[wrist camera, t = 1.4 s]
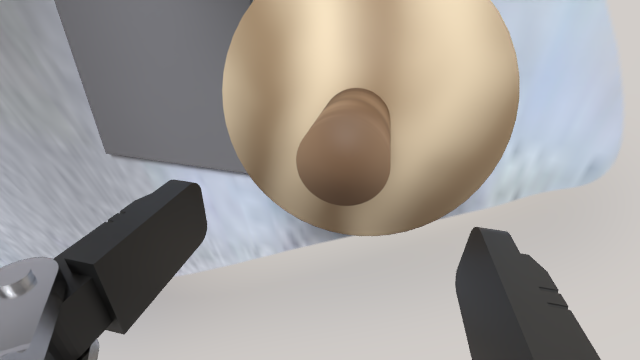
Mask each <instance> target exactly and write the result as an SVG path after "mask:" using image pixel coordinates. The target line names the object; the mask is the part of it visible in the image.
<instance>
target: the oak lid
mask: <svg viewBox="0 0 640 360" xmlns="http://www.w3.org/2000/svg"><path fill="white" fill-rule="evenodd" d="M222 96H223V110H224V116H225V121H226V126H227V129H228V133H229V136H230V139H231V142H232V145H233V147H234V149H235V152H236V154H237V156H238V158H239V160H240V161H241V163H242V165H243V167H244V168H245V170H246V171H247V173H248V174H249V176H250V177H251V178H252V180H253V181H254V182H255V183H256V185H257V186H258V187H259V188H260V189H261V190H262V191H263V192H264V193H265V194H266V195H267V196H268V197H269V198H270V199H271V200H272V201H273V202H275V203H276V204H277V205H278V206H280V207H281V208H283V209H284V210H285V211H287V212H288V213H290V214H292V215H293V216H295V217H297V218H298V219H300V220H302V221H304V222H307V223H309V224H311V225H313V226H316V227H319V228H322V229H325V230H328V231H332V232H337V233H341V234H347V235H356V236H380V235H390V234H396V233H401V232H405V231H409V230H412V229H415V228H419V227H422V226H424V225H426V224H429V223H431V222H433V221H435V220H438V219H439V218H441V217H443V216H444V215H446V214H448V213H450V212H451V211H453V210H454V209H455V208H457V207H458V206H459V205H461V204H462V203H463V202H465V201H466V200H467V199H468V198H469V197H470V196H471V195H472V194H474V193H475V192H476V191H477V190H478V189H479V188H480V187H481V185H482V184H483V183H484V182H485V181H486V179H487V178H488V177H489V176H490V174H491V173H492V172H493V170H494V168H495V167H496V165H497V164H498V162H499V160H500V159H501V157H502V155H503V153H504V151H505V149H506V147H507V144H508V142H509V140H510V137H511V134H512V131H513V127H514V124H515V121H516V116H517V109H518V103H519V71H518V64H517V58H516V53H515V49H514V46H513V43H512V40H511V37H510V34H509V31H508V29H507V27H506V25H505V23H504V21H503V19H502V17H501V15H500V13H499V11H498V10H497V9H496V7H495V6H494V4H493V3H492V2H491V0H254V1H253V2H252V4H251V5H250V6H249V8H248V9H247V11H246V12H245V14H244V15H243V17H242V19H241V21H240V23H239V25H238V27H237V29H236V31H235V33H234V35H233V38H232V41H231V44H230V47H229V50H228V53H227V57H226V62H225V67H224V72H223V86H222Z"/></svg>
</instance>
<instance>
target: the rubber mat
mask: <svg viewBox="0 0 640 360" xmlns="http://www.w3.org/2000/svg"><path fill="white" fill-rule="evenodd" d="M54 1H55V4H56V7H57V10H58V13H59V16H60V19H61V22H62V25H63V28H64V31H65V33H66V36H67V39H68V42H69V45H70V48H71V51H72V54H73V57H74V60H75V63H76V66H77V69H78V72H79V75H80V78H81V81H82V84H83V87H84V90H85V93H86V96H87V99H88V102H89V105H90V108H91V110H92V113H93V116H94V119H95V122H96V125H97V128H98V131H99V134H100V137H101V140H102V143H103V146H104V149H105V152H106V154H114V155H121V156H128V157H135V158H142V159H149V160H156V161H163V162H170V163H177V164H184V165H191V166H199V167H206V168H213V169H220V170H227V171H234V172H241V173H247V171H246V170H245V168H244V167H243V165H242V163H241V161H240V160H239V158H238V156H237V154H236V152H235V149H234V147H233V145H232V142H231V139H230V136H229V133H228V129H227V126H226V121H225V116H224V110H223V96H222V86H223V72H224V67H225V62H226V57H227V53H228V50H229V47H230V44H231V41H232V38H233V35H234V33H235V31H236V29H237V27H238V25H239V23H240V21H241V19H242V17H243V15H244V14H245V12H246V11H247V9H248V8H249V6H250V5H251V4H252V2H253V0H54Z"/></svg>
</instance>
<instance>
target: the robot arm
mask: <svg viewBox="0 0 640 360" xmlns="http://www.w3.org/2000/svg"><path fill="white" fill-rule="evenodd" d="M206 231H207V220H206V215H205V209H204V203H203V198H202V192H201V188H200V186H199V185H198V184H197V183H192V182H185V181H179V180H170V181H168V182H167V183H166V184H164V185H163V186H161V187H160V188H159V189H157V190H156V191H155V192H153V193H152V194H149V195H147V196H145V197H142V198H140V199H138V200H135V201H134V202H132V203H131V204H130V205H128V206H127V207H125V208H124V209H123V210H121V211H120V214H119V213H117V214H116V215H114V216H113V217H111V218H110V219H109V220H108V222H107V223H106V222H104V223H103V224H102V225H100V226H99V227H97V228H96V229H95V230H93V231H92V232H90V233H89V234H88V235H86V236H85V237H83V238H82V239H81V240H79V241H78V242H76V243H75V244H74V245H72V246H71V247H69V248H68V249H67V250H65V251H64V252H62V253H61V254H60V255H58V256H57V257H55V258H54V259H51V258H47V257H35V258H29V259H24V260H20V261H17V262H14V263H11V264H9V265H6V266H4V267H2V268H0V360H97V358H98V352H99V342H98V340H97V338H98V337H99V336H100V335H101V334H102V333H103V332H104V330H109V331H112V332H116V333H121V334H125V333H126V332H127V331H128V329H129V328H130V327H131V326H132V325H133V324H134V322H135V321H136V320H137V319H138V318H139V317H140V315H141V314H142V313H143V312H144V311H145V309H146V308H147V307H148V306H149V305H150V304H151V302H152V301H153V300H154V299H155V298H156V296H157V295H158V294H159V293H160V291H162V289H163V288H164V287H165V286H166V285H167V283H168V282H169V281H170V280H171V279H172V277H173V276H174V275H175V274H176V273H177V272H178V270H179V269H180V268H181V267H182V266H183V264H184V263H185V262H186V261H187V260H188V258H189V257H190V256H191V255H192V254H193V253H194V251H195V250H196V249H197V248H198V247H199V245H200V244H201V243H202V242H203V240H204V238H205V235H206ZM455 285H456V293H457V297H458V302H459V305H460V310H461V314H462V318H463V323H464V327H465V331H466V336H467V340H468V344H469V349H470V353H471V357H472V360H600V358H599V356H598V355H597V353H596V351H595V349H594V348H593V346H592V345H591V343H590V341H589V340H588V338H587V336H586V335H585V333H584V331H583V330H582V328H581V327H580V325H579V323H578V322H577V320H576V318H575V317H574V315H573V313H572V312H571V311H570V310H568V305H567V304H566V302H565V300H564V299H563V297H562V295H561V294H558V289H557V287H556V285H555V284H554V282H553V281H552V279H551V277H550V276H549V274H548V272H547V271H546V270H545V269H544V268H543V267H541V266H540V265H539V264H538V263H537V262H536V261H535V260H534V259H533V258H532V257H530V256H529V255H526V254H520V252H519V250H518V248H517V247H516V245H515V243H514V241H513V239H512V237H511V235H510V234H509V233H508V232H505V231H500V230H493V229H487V228H480V227H475V228H473V230H472V231H471V233H470V236H469V239H468V242H467V244H466V247H465V250H464V252H463V255H462V257H461V260H460V263H459V266H458V269H457V273H456V282H455Z"/></svg>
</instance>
